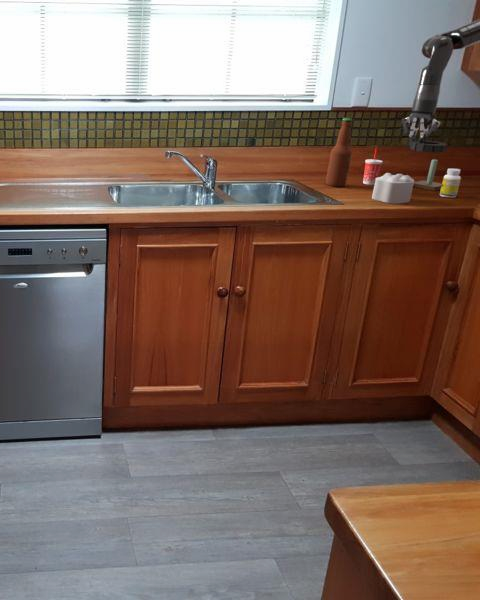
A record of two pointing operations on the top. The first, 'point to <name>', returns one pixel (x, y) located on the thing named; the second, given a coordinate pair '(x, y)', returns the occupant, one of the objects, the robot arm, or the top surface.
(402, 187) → the white bumpy block
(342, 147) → the bottle
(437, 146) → the ring
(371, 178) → the beverage cup
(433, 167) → the stand
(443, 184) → the supplement bottle
